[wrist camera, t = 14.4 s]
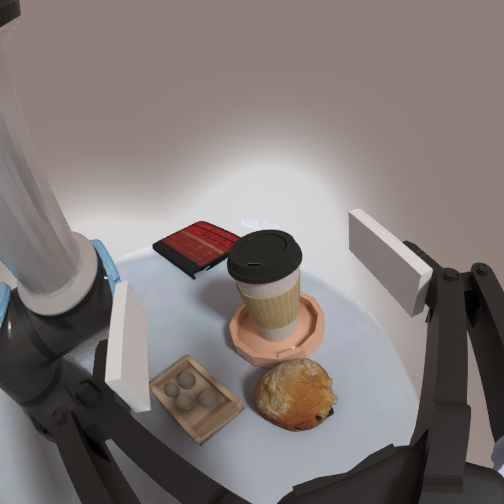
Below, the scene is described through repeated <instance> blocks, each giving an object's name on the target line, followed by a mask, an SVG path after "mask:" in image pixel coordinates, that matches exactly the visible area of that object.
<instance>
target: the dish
mask: <svg viewBox="0 0 504 504" xmlns="http://www.w3.org/2000/svg"><path fill="white" fill-rule="evenodd" d="M324 325H325V321H324V312H323V311H322V309H321V308H320V306H319V304H318V303H317V301H316V299H315V298H314V297H311V296H309V295H307V294H305V293H303V292H301V291H300V307H299V314H298V329H297V331H296V333H295V334H294V335H293V336H292V337H291V338H289V339H287V340H285V341H282V342H270V341H267V340H265V339H264V338H263V337H262V336H261V335H260V333H259V331H258V329H257V327H256V324H255V323H254V322H253V320H252V318H251V316H250V314H249V312H248V310H247V308H246V305H245V303H243V304H242V305H241V306H240V307H238V308H237V309H236V311H235V314H234V316H233V318H232V320H231V323H230V325H229V328H230V332H231V336H232V339H233V343H234V346H235V348H236V351H237V353H238V354H239V355H240V356H242V357H243V358H244V359H246V360H247V361H248V362H250V363H251V364H252V365H254V366H257V367H266V368H275V367H276V366H277V365H279V364H281V363H283V362H285V361H288V360H293V359H298V358H308V357H309V356H310V355H311V354H312V353H313V352H314V351H315V350H316V349H317V348H318V347H319V345H320V344H321V343H322V338H323V332H324Z"/></svg>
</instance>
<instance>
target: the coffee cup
mask: <svg viewBox="0 0 504 504" xmlns="http://www.w3.org/2000/svg"><path fill="white" fill-rule="evenodd" d="M301 261H302V252H301V249H300V247H299V245H298V244H297V243H296V242H295V240H294V238H293V237H292V236H291V235H290V234H288V233H286V232H283V231H280V230H261V231H256V232H253V233H250V234H247V235H245V236H243V237H241V238H240V239H238V240H237V241H236V242H235V243H234V244H233V245H232V246H231V248H230V250H229V257H228V260H227V269H228V272H229V274H230V275H231V276H232V277H233V278H234V279H235V280H236V285H237V288H238V290H239V292H240V295H241V297H242V299H243V301H244V303H245V305H246V308H247V310H248V312H249V314H250V316H251V318H252V320H253V322H254V323H255V324H256V327H257V329H258V331H259V333H260V335H261V336H262V337H263V338H264V339H265V340H267V341H270V342H282V341H285V340H287V339H289V338H291V337H292V336H293V335H294V334H295V333H296V331H297V329H298V314H299V307H300V270H299V265H300V264H301Z"/></svg>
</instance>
